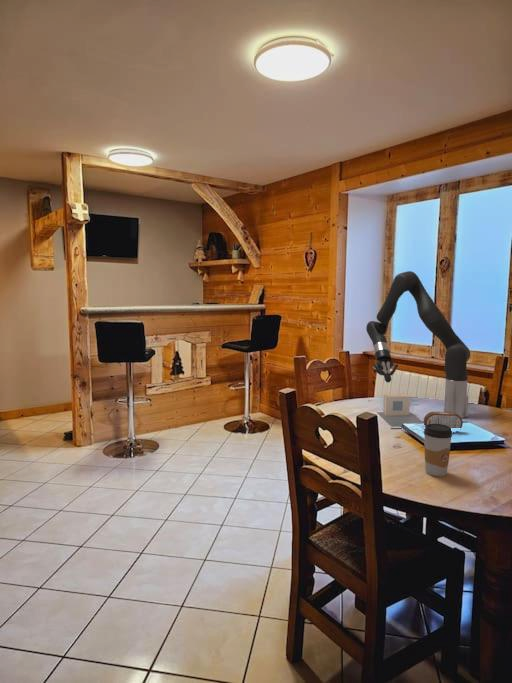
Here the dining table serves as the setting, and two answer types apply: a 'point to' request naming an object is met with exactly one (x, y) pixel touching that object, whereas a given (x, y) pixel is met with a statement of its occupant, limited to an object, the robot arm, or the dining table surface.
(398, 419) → the slate board
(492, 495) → the dining table surface
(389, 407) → the tile
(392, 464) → the dining table surface
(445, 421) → the tin
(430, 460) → the coffee cup
